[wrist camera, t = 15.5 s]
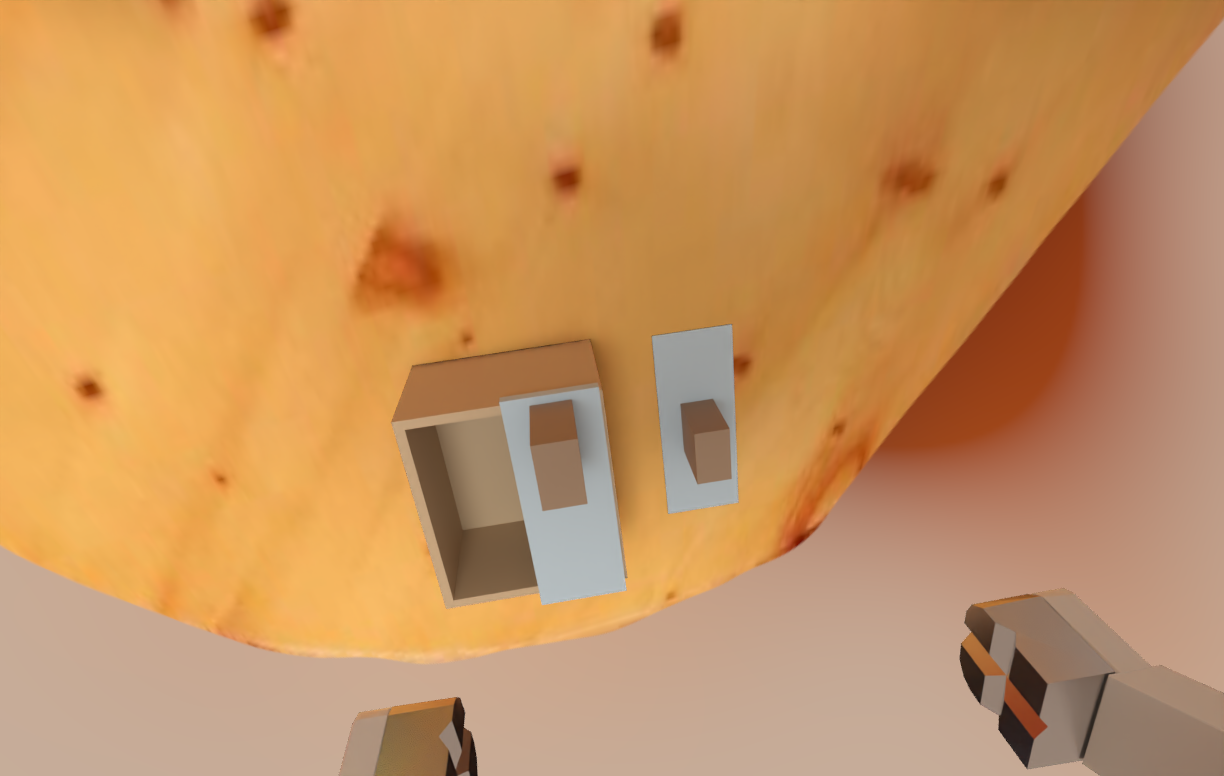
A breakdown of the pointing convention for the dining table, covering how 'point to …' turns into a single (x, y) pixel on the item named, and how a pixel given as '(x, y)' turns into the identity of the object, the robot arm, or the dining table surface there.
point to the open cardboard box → (479, 464)
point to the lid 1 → (565, 491)
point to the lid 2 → (697, 417)
